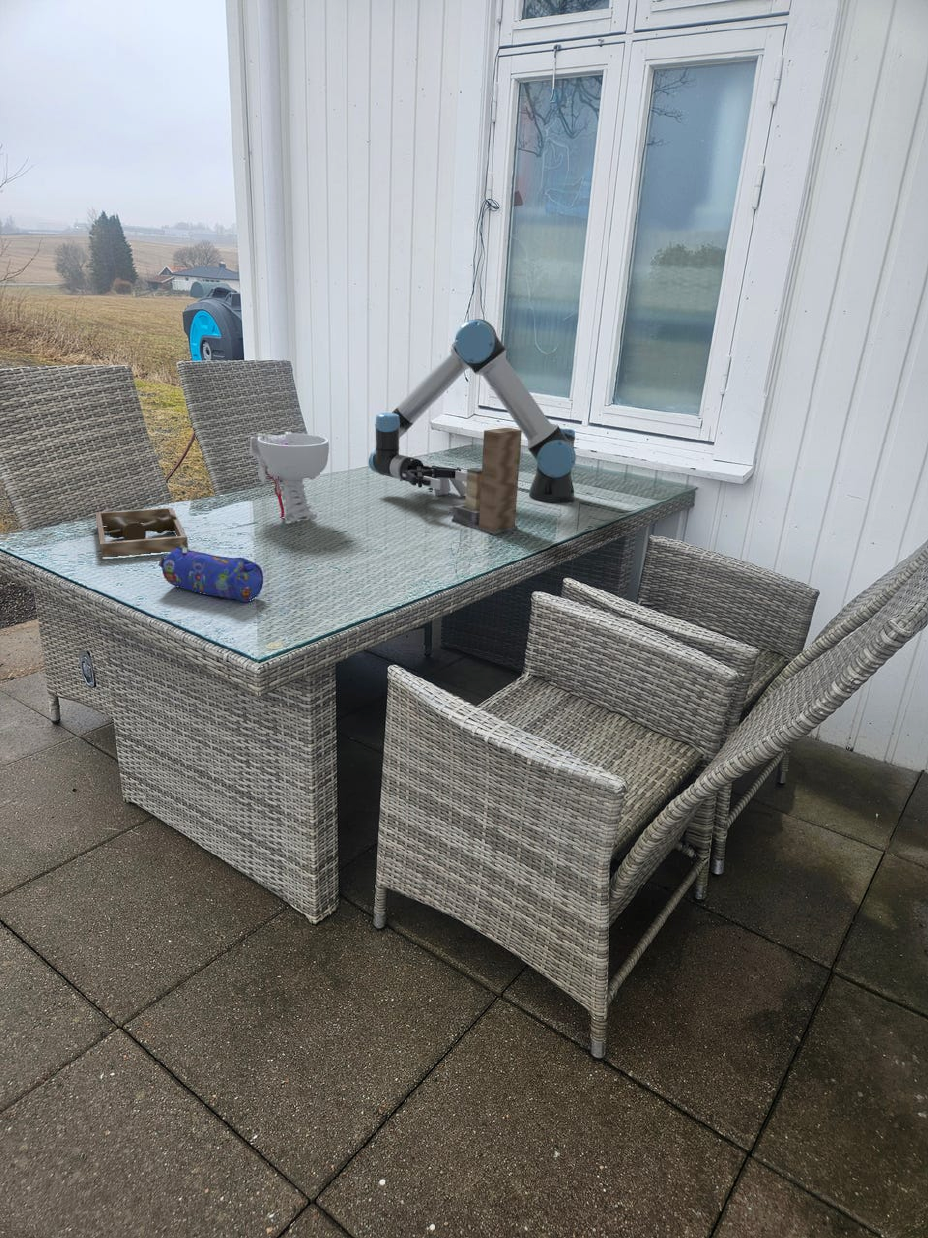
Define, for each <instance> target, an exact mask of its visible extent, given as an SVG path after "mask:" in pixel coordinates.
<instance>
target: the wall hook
mask: <svg viewBox="0 0 928 1238" xmlns="http://www.w3.org/2000/svg"><path fill="white" fill-rule="evenodd" d="M432 476H434V474H432ZM436 479H439V480H441V482H440V489H439V490H438V489H435V488H433V491H434V494H435V496H436V497H439V496H441V497H442V496H446V495H448V494H449V493H450V492H451V484H452V485H453V487H454V488H455V489H456V492H457V493H458V494H459V496H460V497H463V496H466V484H465V483H464V482H463V481H459V480H455V478H440V477H437V478H436ZM450 482H451V483H450Z"/></svg>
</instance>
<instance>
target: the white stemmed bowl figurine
mask: <svg viewBox="0 0 928 1238" xmlns="http://www.w3.org/2000/svg"><path fill="white" fill-rule="evenodd" d="M249 439H250V447H249V452H248V453H249V457H252V456H253V457H254V458H255V459H256V460H257V464H258V471H257V473H258V474H257V475H258V479H259V480H260V482H261V484H262V485H265V483H267V479H268V478H267V476H268V477H269V479H271V480H272V481H274V485H275V486H274V493H275V495H276V497H277V500H278V503H279V504H278V505H279V506H280V511H281V514H280V518H281V517H284V518H283V519H284V520H285V519H287V520H285V523H286V522H290V521H291V522H294V523H295V521H298V520H300V519H302V520H303V519H304V518H302V517H306V518H305V519H307V518H308V517H309V519H312V520H313V521H315V520H316V519H317V513H316V512H315V511H312V512H310V509H312V507H313V506H312V505H310V504H307V503H308V500H307V498H306V493H305V490H304V489H305V487H306V486H305V484H303V481H304V479H310V480H312V481H314V480H315V479H316V478H317V477H318V475H320V474H321V473H322V472H323V471H324V470H325V469H326V467H327V464H328V461H329V452H330V445H329V444H330V441H329V439H328V438H326V437H324V436H320V435H318V434H317V435H316V434H306V433H292V431H285V432H284V434H283V435H282V434H281V435H275V434H272V433H269V434H266V433H263V434H262V433H257V436H251V437H250V438H249ZM266 475H267V476H266ZM272 476H273V477H272ZM281 485H282V486H281ZM280 486H281V487H280ZM282 492H283V495H282ZM283 501H285V502H284V503H283ZM285 507H286V508H285ZM285 512H286V513H285ZM291 517H292V518H291ZM298 522H299V521H298Z"/></svg>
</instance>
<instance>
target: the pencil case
mask: <svg viewBox="0 0 928 1238" xmlns="http://www.w3.org/2000/svg"><path fill="white" fill-rule="evenodd" d="M158 566H159V567H161V570H162V574H163V577H164V579H165V580H166V581H167V583H169V584H170V585H171V586H174V587H175V586H176V588H179V587H182V588H181V589H183V588H185V589H184V590H187V589H188V591H190V590H193V591H196V592H195V593H197V592H201V593H200V594H202V593H205V594H204V595H206V594H208V595H207V596H210V595H213V597H217V596H220V598H223V597H224V599H229V600H230V599H231V600H235V601H238V600H239V601H238V602H243V603H249V602H248V601H250V600H252V599H253V598H255V597H256V598H257V597H258V596H259V594H260V593H261V591H262V589H263V587H264V586H263V585H264V573H263V570H262V568H261V566H260V565H259V564H258V563H256V562H254V561H252V560H249V559H246V558H244V557H226V556H218V555H213V554H208V553H206V552H200V551H195V550H190V549H189V548H188V549H187V548H185V546H183V545H181V546H180V547H177V549H174V550H173V551H172V552H171V553H170V554H168V555H166V556H165V557H161V558H160V561H159V562H158ZM177 586H178V587H177ZM193 591H192V592H193ZM256 598H255V599H256ZM252 601H253V600H252ZM250 602H251V601H250Z"/></svg>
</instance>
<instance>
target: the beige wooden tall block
mask: <svg viewBox="0 0 928 1238" xmlns="http://www.w3.org/2000/svg"><path fill="white" fill-rule="evenodd" d="M466 473H467V482H465V483H466V484H465V487H466V494H465V503H464V504H465V508H466V509H470V510H473V511H479V510H480V497H481V478H482V467H481V468H480V467H470V468H467V469H466Z"/></svg>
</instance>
